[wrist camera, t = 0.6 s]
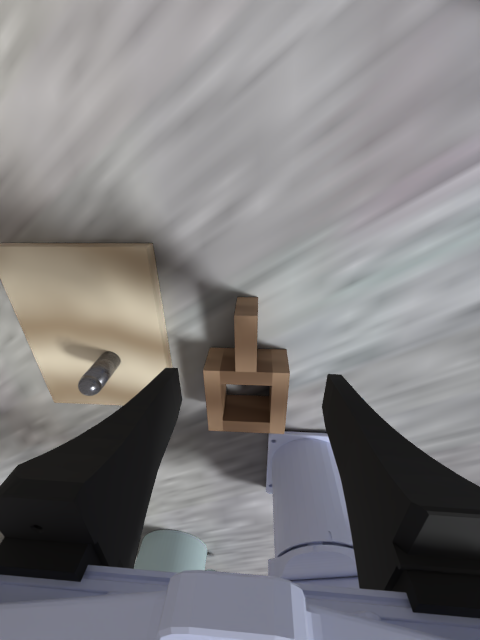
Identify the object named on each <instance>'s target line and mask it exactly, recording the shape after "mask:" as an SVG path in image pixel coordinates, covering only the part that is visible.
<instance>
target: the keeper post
mask: <svg viewBox="0 0 480 640" xmlns="http://www.w3.org/2000/svg"><path fill="white" fill-rule="evenodd" d="M120 363H121V359H120V357H119V356H118V355H117V354H116V353H114V352H111V351H106V352H104V353H102V355H101V356H100V357H99V358H98V359H97V360H96V361H95V363H94V364H93V365H92V366H91V367H90V368H89V369H88V371H87V372H86V373H85V374H84V375H83V376H82V377H81V379H80V380H79V382H78V389H79V391H80V392H81V393H82V394H83V395H86V396H93V395H96V394H97V393H99V392H100V391H101V390H102V388H103V387H104V385H105V384H106V383H107V381H108V380H109V379H110V377H111V376H112V375H113V373H114V372H115V371H116V369H117V368H118V366H119V365H120Z"/></svg>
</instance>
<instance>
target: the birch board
mask: <svg viewBox="0 0 480 640" xmlns="http://www.w3.org/2000/svg"><path fill="white" fill-rule="evenodd" d="M0 279H1V281H2V283H3V286H4V288H5V290H6V293H7V295H8V297H9V300H10V302H11V304H12V306H13V309H14V311H15V313H16V316H17V318H18V320H19V322H20V325H21V327H22V329H23V332H24V334H25V336H26V339H27V341H28V343H29V345H30V348H31V350H32V352H33V355H34V357H35V359H36V361H37V364H38V366H39V368H40V371H41V373H42V375H43V378H44V380H45V382H46V384H47V387H48V389H49V391H50V394H51V396H52V398H53V400H54V402H55V403H80V404H104V405H125V404H126V403H127V402H128V401H130V400H131V399H132V398H133V397H134V396H136V395H137V394H138V393H139V392H140V391H141V390H142V389H143V388H144V387H146V386H147V385H148V384H149V383H150V382H151V381H152V380H153V379H154V378H155V377H156V376H157V375H158V374H159V373H160V372H161V371H163V370H164V369H165V368H172V362H171V356H170V350H169V343H168V337H167V331H166V324H165V318H164V312H163V305H162V299H161V293H160V286H159V280H158V274H157V267H156V261H155V255H154V249H153V243H0ZM106 351H111V352H114V353H116V354H117V355H118V356H119V357H120V359H121V363H120V365H119V366H118V368H117V369H116V371H115V372H114V373H113V375H112V376H111V377H110V379H109V380H108V381H107V383H106V384H105V385H104V387H103V388H102V390H101V391H100V392H99V393H97V394H96V395H93V396H86V395H83V394H82V393H81V392H80V391H79V389H78V382H79V380H80V379H81V377H82V376H83V375H84V374H85V373H86V372H87V371H88V369H89V368H90V367H91V366H92V365H93V364H94V363H95V361H96V360H97V359H98V358H99V357H100V356H101V355H102V353H104V352H106Z"/></svg>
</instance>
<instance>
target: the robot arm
mask: <svg viewBox="0 0 480 640" xmlns="http://www.w3.org/2000/svg"><path fill="white" fill-rule="evenodd" d="M181 402H182V396H181V389H180V381H179V374H178V368H165V369H164V370H163V371H161V372H160V373H159V374H158V375H157V376H156V377H155V378H154V379H153V380H152V381H151V382H150V383H149V384H148V385H147V386H146V387H144V388H143V389H142V390H141V391H140V392H139V393H138V394H137V395H136V396H134V397H133V398H132V399H131V400H130V401H128V402H127V403H126V404H125V405H124V406H122V407H121V408H120V409H119V410H117V411H116V412H115V413H113V414H112V415H110V416H109V417H108V418H106V419H105V420H103V421H102V422H100V423H99V424H97V425H96V426H94V427H92V428H91V429H89V430H87V431H86V432H84V433H83V434H81V435H79V436H78V437H76V438H74V439H72V440H70V441H68V442H67V443H65V444H63V445H61V446H59V447H57V448H55V449H53V450H51V451H49V452H47V453H45V454H42V455H40V456H38V457H36V458H33V459H31V460H29V461H27V462H24V463H22V464H20V465H18V466H17V467H16V468H15V469H14V470H13V472H12V473H11V474H10V475H9V476H8V477H7V479H6V480H5V481H4V482H3V483H2V485H1V486H0V532H1V533H2V534H3V536H4V539H3V540H2V542H1V543H0V640H480V487H479V486H477V485H476V484H474V483H472V482H470V481H468V480H467V479H465V478H463V477H461V476H460V475H458V474H456V473H455V472H453V471H452V470H450V469H448V468H447V467H445V466H444V465H442V464H441V463H439V462H438V461H436V460H435V459H433V458H432V457H430V456H429V455H427V454H426V453H424V452H423V451H422V450H420V449H419V448H417V447H416V446H415V445H413V444H412V443H411V442H409V441H408V440H407V439H406V438H404V437H403V436H402V435H401V434H400V433H398V432H397V431H396V430H395V429H393V428H392V427H391V426H390V425H389V424H388V423H387V422H386V421H385V420H383V419H382V418H381V417H380V416H379V415H378V414H377V413H376V412H375V411H374V410H373V409H372V408H371V407H370V406H369V405H368V404H367V403H366V402H365V401H364V400H363V399H362V398H361V396H360V395H359V394H358V393H357V392H356V391H355V390H354V389H353V388H352V386H351V385H350V384H349V383H348V382H347V381H346V380H345V379H344V377H343V376H342V375H336V374H328V376H327V382H326V387H325V393H324V398H323V404H322V409H323V416H324V422H325V427H326V431H327V433H309V432H287V431H285V433H284V434H273V433H269V436H268V456H267V477H266V492H267V493H269V494H273V517H274V546H275V558H273V559H269V560H268V576H263V575H251V574H240V573H228V572H216V571H205V570H186V571H182V572H180V573H176V572H164V571H153V570H142V569H134V564H135V560H136V555H137V551H138V546H139V542H140V537H141V533H142V529H143V525H144V521H145V517H146V513H147V509H148V505H149V501H150V497H151V493H152V490H153V486H154V483H155V479H156V475H157V472H158V469H159V466H160V463H161V460H162V458H163V455H164V453H165V450H166V447H167V445H168V442H169V440H170V437H171V435H172V432H173V429H174V427H175V424H176V421H177V418H178V414H179V411H180V406H181ZM273 439H275V440H273Z"/></svg>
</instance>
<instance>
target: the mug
mask: <svg viewBox="0 0 480 640" xmlns="http://www.w3.org/2000/svg"><path fill="white" fill-rule="evenodd" d="M206 557H207V547H206V545H205V544H204V543H203V542H202V541H201V540H200V539H198V538H197V537H195V536H193V535H191V534H188V533H185V532H181V531H176V530H158V531H153V532H151V533H149V534H147V535H146V536H145V537H144V538H143V541H142V544H141V547H140V550H139V553H138V556H137V560H136V563H135V566H134V569H142V570H153V571H164V572H176V573H180V572H182V571H186V570H205V564H206ZM205 571H215V570H205ZM216 572H218V571H216Z"/></svg>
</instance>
